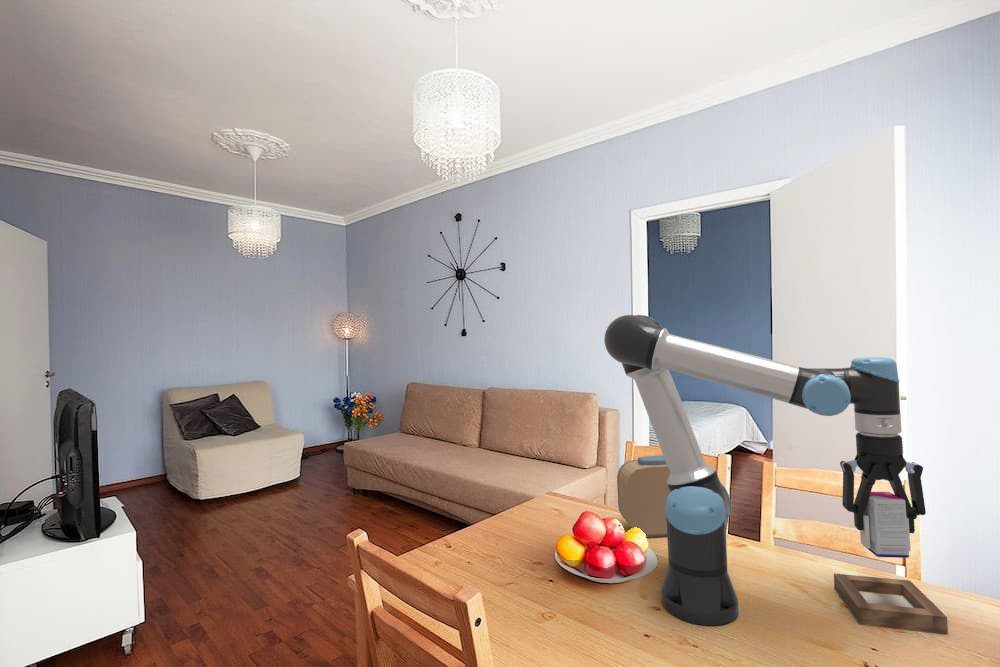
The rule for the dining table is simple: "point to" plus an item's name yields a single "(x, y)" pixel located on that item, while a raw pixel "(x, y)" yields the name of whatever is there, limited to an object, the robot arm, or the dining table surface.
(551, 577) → the dining table surface
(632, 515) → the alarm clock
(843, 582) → the socket block
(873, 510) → the supplement box
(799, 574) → the dining table surface
